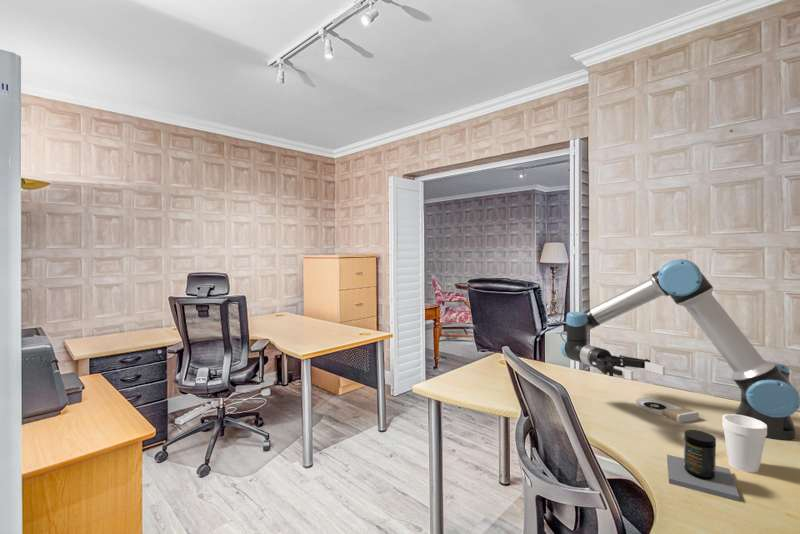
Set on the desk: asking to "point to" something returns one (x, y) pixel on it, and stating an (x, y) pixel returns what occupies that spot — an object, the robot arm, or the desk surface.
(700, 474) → the supplement container
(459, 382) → the desk surface
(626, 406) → the desk surface
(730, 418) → the foam cup
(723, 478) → the mat
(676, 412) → the record player
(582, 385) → the desk surface
